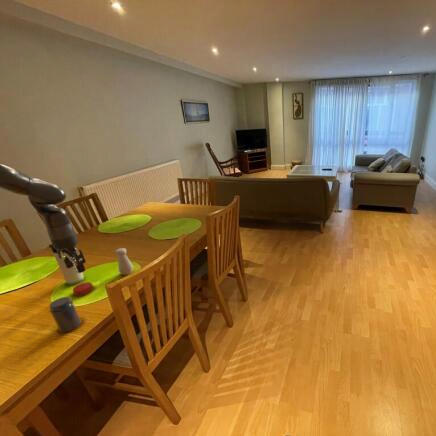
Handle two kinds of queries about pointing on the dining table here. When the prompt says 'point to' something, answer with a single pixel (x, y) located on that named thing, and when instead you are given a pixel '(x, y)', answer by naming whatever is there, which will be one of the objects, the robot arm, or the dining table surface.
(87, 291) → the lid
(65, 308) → the jar
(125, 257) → the salt shaker
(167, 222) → the dining table surface
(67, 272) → the travel mug
